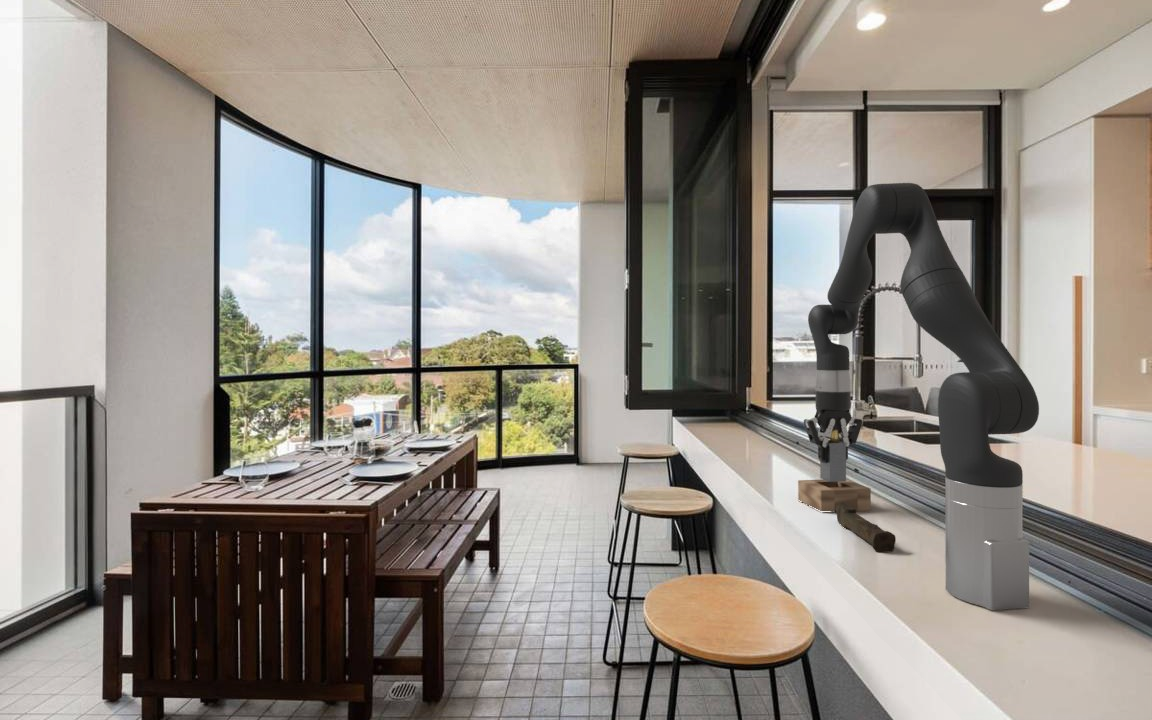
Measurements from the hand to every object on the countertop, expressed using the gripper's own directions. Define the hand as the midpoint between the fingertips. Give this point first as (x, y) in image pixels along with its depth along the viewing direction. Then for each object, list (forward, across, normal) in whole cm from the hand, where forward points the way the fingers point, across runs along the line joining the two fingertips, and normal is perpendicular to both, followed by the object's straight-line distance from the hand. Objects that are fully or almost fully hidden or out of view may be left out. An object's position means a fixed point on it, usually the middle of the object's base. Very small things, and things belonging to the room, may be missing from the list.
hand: (833, 461), depth 130 cm
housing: (+10, 0, 0) cm, 10 cm away
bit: (+4, 0, 0) cm, 4 cm away
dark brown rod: (+11, -8, -20) cm, 24 cm away
